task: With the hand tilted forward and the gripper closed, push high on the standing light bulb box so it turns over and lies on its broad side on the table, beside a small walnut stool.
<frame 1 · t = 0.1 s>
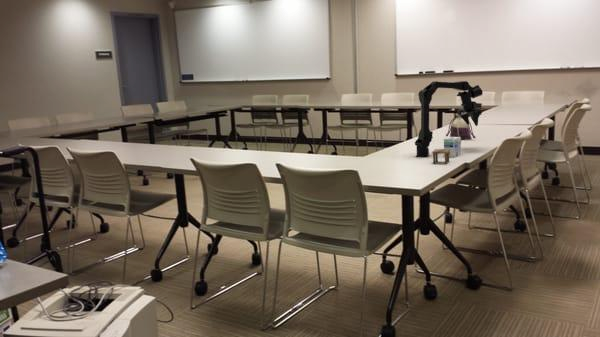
hand: (472, 125, 323), 15 cm above the table, tool pointing down, fingers open, 9 cm apart
walnut stool: (441, 162, 294), on the table
pouch: (460, 139, 372), on the table
light bulb box: (452, 156, 312), on the table
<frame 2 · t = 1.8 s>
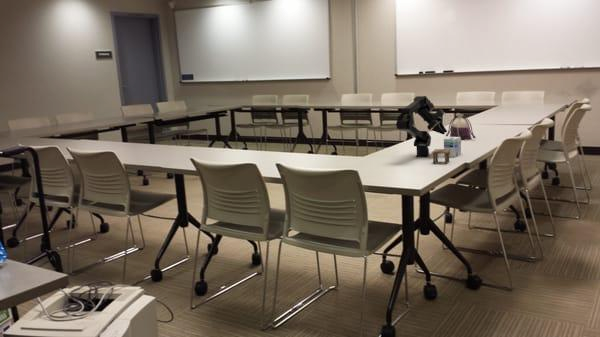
hand: (445, 132, 311), 14 cm above the table, tool tilted 45°, fingers open, 7 cm apart
nothing on the table moved.
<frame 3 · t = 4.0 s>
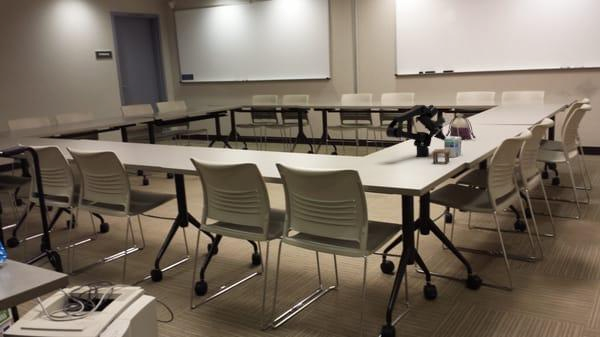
hand: (446, 140, 312), 9 cm above the table, tool tilted 45°, fingers closed
light bulb box: (452, 155, 312), on the table, touching gripper
everything else where it was.
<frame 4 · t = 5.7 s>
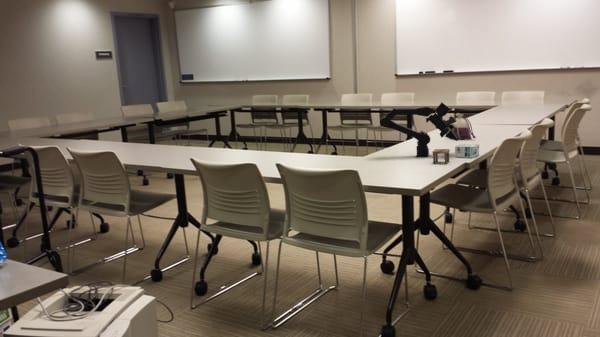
hand: (457, 140, 309), 9 cm above the table, tool tilted 45°, fingers closed
light bulb box: (457, 150, 310), point 3 cm above the table
everything else where it was.
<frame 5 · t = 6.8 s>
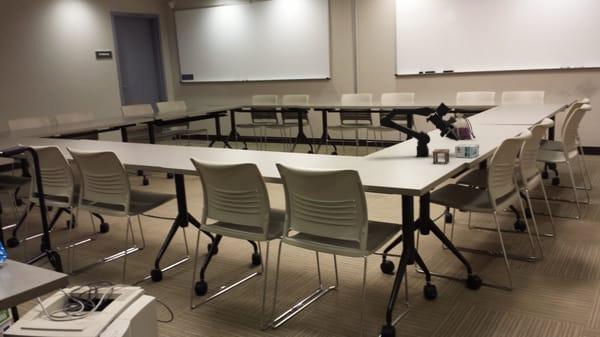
hand: (458, 140, 309), 9 cm above the table, tool tilted 45°, fingers closed
nothing on the table moved.
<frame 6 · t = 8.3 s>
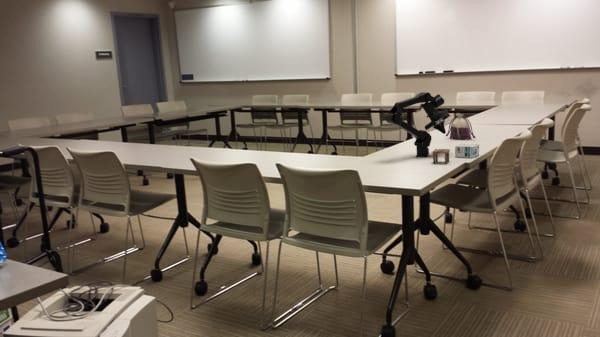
hand: (445, 133, 313), 13 cm above the table, tool tilted 30°, fingers closed
nothing on the table moved.
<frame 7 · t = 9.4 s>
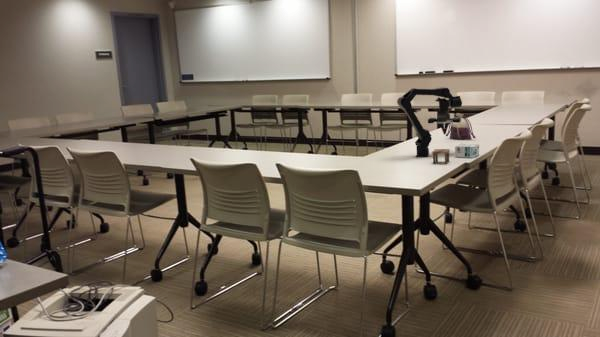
hand: (444, 134, 318), 12 cm above the table, tool pointing down, fingers closed
nothing on the table moved.
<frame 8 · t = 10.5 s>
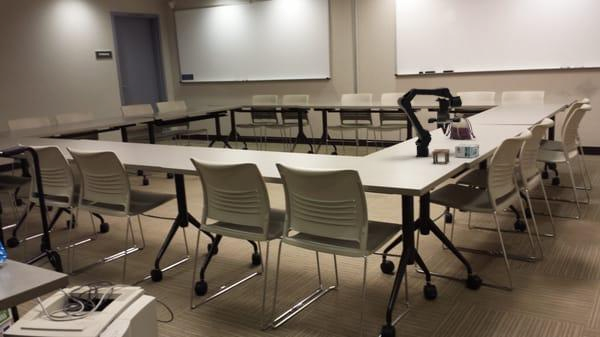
hand: (444, 134, 318), 12 cm above the table, tool pointing down, fingers closed
nothing on the table moved.
at the end: light bulb box tilted 91°; light bulb box inside the target area (3.5 cm from its centre), point 3.4 cm above the table; light bulb box touching table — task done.
